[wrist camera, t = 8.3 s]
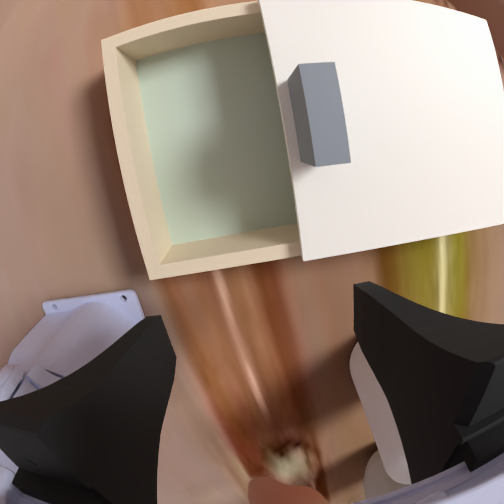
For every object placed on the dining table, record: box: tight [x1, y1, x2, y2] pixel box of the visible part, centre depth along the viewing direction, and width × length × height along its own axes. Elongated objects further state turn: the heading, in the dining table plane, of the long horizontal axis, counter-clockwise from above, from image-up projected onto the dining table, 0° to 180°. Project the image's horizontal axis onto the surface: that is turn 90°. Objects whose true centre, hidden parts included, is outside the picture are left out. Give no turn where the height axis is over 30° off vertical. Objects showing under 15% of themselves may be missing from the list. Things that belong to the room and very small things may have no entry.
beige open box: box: [101, 1, 301, 280], centre depth 16 cm, size 15×14×4 cm
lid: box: [258, 0, 504, 261], centre depth 12 cm, size 15×14×4 cm
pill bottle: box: [349, 342, 411, 484], centre depth 17 cm, size 8×8×15 cm
